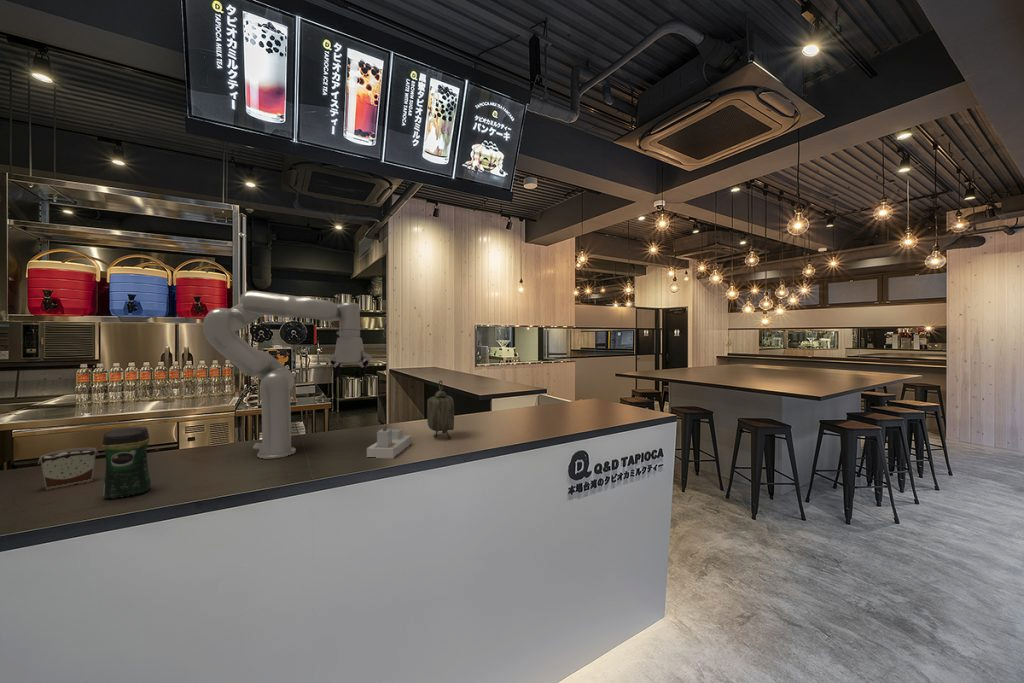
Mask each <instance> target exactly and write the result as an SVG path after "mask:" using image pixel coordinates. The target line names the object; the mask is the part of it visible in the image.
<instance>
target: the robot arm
mask: <svg viewBox="0 0 1024 683" xmlns="http://www.w3.org/2000/svg"><path fill="white" fill-rule="evenodd" d="M360 311H361V308H360V305H359V303H356V302H341V303H335V302H333V301H331V300H326V299H318V298H312V297H311V298H310V297H304V296H303V297H302V296H296V295H292V294H291V295H289V294H284V293H283V294H282V293H275V292H267V291H259V290H247V291H245V292H243V293H242V294H241V296H239V303H238V304H235V305H234V306H232V307H231V308H225V307H217V308H214V309H212V310H210V311H209V312H208V313H207V314H205V316H204V318H203V323H202V332H203V335H204V337H205V339H206V341H208V343H209V344H210V345H211V347H212V348H214V349H215V350H216V351H217V352H218V353H219V354H221V355H222V356H223V357H225V359H226V360H228V362H230V363H231V364H232V365H234V366H235V367H236V368H237V369H239V371H241V373H243V374H244V375H246V376H249V377H257V378H258V379H259V380H260V383H259V393H260V403H261V404H260V406H261V442H256V443H254V445H253V447H252V449H253V450H259V451H258V452H257V453H256V454H257V458H258V457H259V459H262V458H263V459H264V460H265V459H266V460H267V459H268V460H269V459H271V460H272V459H280V458H286V457H289V456H291V454H292V455H294V454H295V453H296V452H297V449H296V447H294V446H293V447H292V422H291V421H292V414H291V413H292V412H291V408H292V405H291V395H290V394H291V392H290V390H291V389H292V388H293V387H294V385H295V383H296V382H295V381H296V380H295V376H294V374H293V372H291V371H290V370H289V369H288V368H287V367H286V366H285V365H284V364H282V363H281V362H280V361H279V360H278V359H276V358H275V356H273V355H271V354H270V353H269V352H268V351H265V350H260V349H256V348H254V347H253V346H251V345H250V344H249V343H248V342H247V341H246V340H245V339H243V338H242V337H240V336H239V335H238V334H237V333H236V332H237V331H240V330H242V329H243V328H245V327H246V326H248V325H251V324H252V323H253V322H255V321H256V320H258V319H260V318H261V317H262V316H273V317H280V318H292V319H293V318H302V319H303V318H304V319H312V320H313V319H314V320H321V321H325V322H337V321H338V322H339V324H338V325H339V330H338V331H336V335H337V336H339V337H337V338H336V341H335V343H336V344H335V352H333V353H332V354H331V355H329V356H328V360H329V361H330V364H331V365H332V367H333V368H334V375H335V378H341V377H342V367H341V365H342V364H345V363H346V364H350V363H351V364H353V363H354V364H356V363H357V364H358V365H359V368H358V370H359V373H358V374H359V376H358V377H359V378H360V379H361V378H365V375H366V368H367V367H368V365H369V364H370V361H371V360H372V355H371V354H368V353H367V352H365V351H364V343H363V339H362V337H360V336H361V317H360V316H361V312H360ZM365 358H366V359H365ZM364 360H365V361H364ZM288 455H289V456H288Z"/></svg>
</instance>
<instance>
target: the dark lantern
mask: <svg viewBox="0 0 1024 683" xmlns="http://www.w3.org/2000/svg"><path fill="white" fill-rule="evenodd" d="M440 385H441V386H440ZM443 387H444V383H443V381H442V380H439V381H438V389H439V390H438V391H436V393H435V394H434V396H431V397H429V398H427V403H426V404H427V405H426V406H427V410H426V413H427V414H426V415H427V417H426V418H427V426H428V428H429V429H430V430H431V431H434V432H435V433H434V435H433V437H434V438H435V439H436V438H438V437H439V435H438V432H441V433H442V435H445V434H446V436H447V439H448V440H451V438H452V436H451V435H449V432H448V431H453V430H454V429H455V405H454V404H455V402H454V399H453V398H452V396H450V395H448V394H447V393H446V391H444V388H443Z"/></svg>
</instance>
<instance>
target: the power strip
mask: <svg viewBox="0 0 1024 683" xmlns="http://www.w3.org/2000/svg"><path fill="white" fill-rule="evenodd" d="M410 444H411V445H412V435H403V429H399V428H398V429H396V428H395V429H394V428H393V429H392V446H391V447H390V448H377V441H376V442H374V444H371V445H370V446H368V447H367V448H366V458H367V457H376V458H375V459H395V458H396V457H397V456H398V455H400V454H401V453H402V452H403V451H405V450H406V449H407V448H409V447H410V446H411V445H410ZM409 445H410V446H409ZM406 447H407V448H406ZM405 448H406V449H405ZM404 449H405V450H404ZM402 450H403V451H402ZM401 451H402V452H401ZM400 452H401V453H400ZM399 453H400V454H399ZM397 454H398V455H397ZM396 455H397V456H396ZM395 456H396V457H395ZM394 457H395V458H394Z"/></svg>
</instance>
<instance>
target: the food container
mask: <svg viewBox="0 0 1024 683" xmlns="http://www.w3.org/2000/svg"><path fill="white" fill-rule="evenodd" d="M96 455H97V456H99V452H98V450H97V448H96V447H79V448H78V447H77V448H70V449H69V448H68V449H62V450H58V451H57V450H56V451H52V452H49V453H45V454H43V455H41V456H40V457H39V459H38V462H37V465H39V464H40V465H41V472H42V476H43V480H44V487H50V486H56V485H62V484H67V483H73V482H78V481H83V480H88V479H92V480H93V476H94V471H95V470H94V469H95V462H96Z"/></svg>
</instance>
